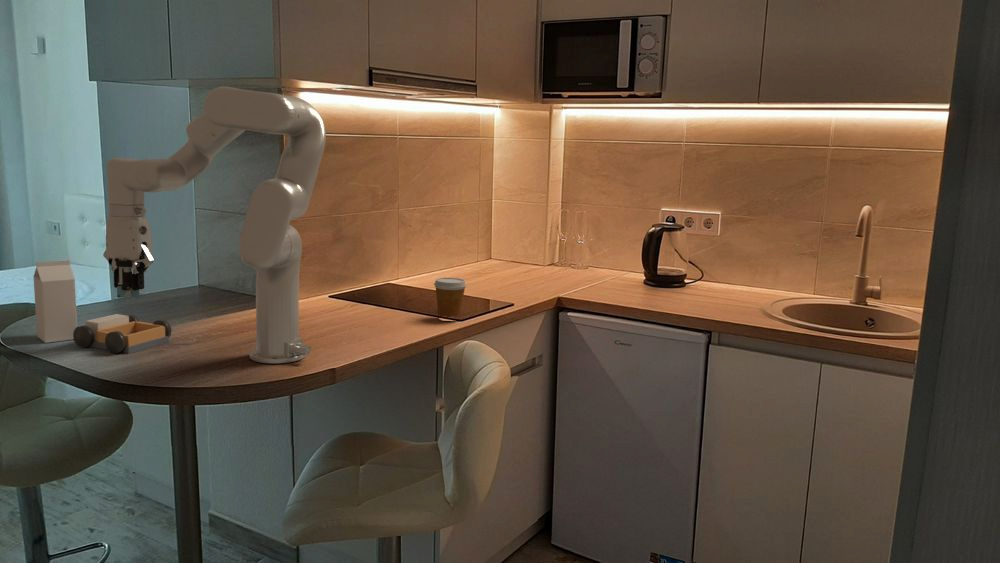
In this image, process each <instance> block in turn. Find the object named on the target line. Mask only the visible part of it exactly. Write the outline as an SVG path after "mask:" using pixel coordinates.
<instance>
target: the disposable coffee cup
mask: <svg viewBox="0 0 1000 563" xmlns="http://www.w3.org/2000/svg"><path fill="white" fill-rule="evenodd" d="M433 285H434V287H435V298H436V306H437V316H438V315H440V316H447V317H451V316H458V315H460V316H461V313H462V306H463V300H464V296H465V289H466V287H467V283H466V280H465V279H463V278H458V277H439V278H436V279H435V282H434V284H433Z"/></svg>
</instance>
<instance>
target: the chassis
mask: <svg viewBox="0 0 1000 563" xmlns="http://www.w3.org/2000/svg"><path fill="white" fill-rule="evenodd" d="M84 322H85V323H84V324H85V325H80V326H77V327H76V328H75V330H74V332H73V338H74V339H73V340H74V342H75V344H76V346H77V347H79V348H86V347H89V348H90V347H92V348H97V349H101V350H108V351H109V352H110V353H112V354H118V353H122V354H123V353H124V354H134V353H135V352H140V351H144V350H147V349H149V348H153V347H156V346H160V345H163V344H168V343H169V341H170V340H169V338H170V337H171V335H172V326H171V324H170V323H169V322H168V321H167V320H166V319H159V320H156V321H154V322H152V323H150V322H143V321H140V319H139V318H138V317H137V316H136V315H134V314H127V315H126V314H125V315H123V314H120V313H115V314H112V315H111V314H110V315H107V316H101V317H98V318H93V319H89V320H85V321H84Z"/></svg>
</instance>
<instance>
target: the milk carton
mask: <svg viewBox="0 0 1000 563" xmlns="http://www.w3.org/2000/svg"><path fill="white" fill-rule="evenodd" d="M35 265H36V267H35V270H34V274H33V290H34V293H33V294H34V305H35V306H34V307H35V324H36V325H35V326H36V337H37V338H38V339H40V340H41V341H42V342H44V343H45V344H46V343H55V342H62V341H71V340H74V338H73V332H74V330H75V328H76V327H78V319H77V318H78V317H77V298H76V297H77V296H76V293H77V292H76V278H75V275H74V272H73V270H72V266H71V260H69V259H68V260H54V261H37V262H36V263H35Z"/></svg>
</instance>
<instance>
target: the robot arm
mask: <svg viewBox="0 0 1000 563" xmlns="http://www.w3.org/2000/svg"><path fill="white" fill-rule="evenodd" d="M245 131H247V132H248V131H249V132H257V133H263V134H271V135H281V136H282V135H284V136H285V135H286V136H287V137H288V140H287V142H286V145H285V148H284V149H283V151H282V154H281V156H280V160H279V165H278V168H277V170H276V174H275V176H274V178H269V179H266V180H264V181H263V182H261V183H259V184H258V186H256V188H255V189H254V191H253V192H252V193H251V196H250V199H249V202H248V207H247V209H246V213H245V217H244V221H243V225H242V228H241V231H240V236H239V241H238V253H239V255H240V258H241V260H242V262H243V263H244V264H245V265H246V266H248V267H249V268H251V269H254V270H256V280H255V321H256V322H255V324H256V326H255V331H256V332H255V334H256V335H255V337H256V338H255V340H256V341H255V342H256V343H255V345H256V347H255V348H252V349H251V350H250V351H249V359H250V360H251V361H254V362H257V363H262V364H287V363H288V364H289V363H293V362H296V361H300V360H302V359H303V358H305V357H307V356H309V355H310V353H311V350H312V346H311V344H310V345H309V344H304V343H303V337H299V336H300V335H299V324H300V322H299V321H300V320H299V317H300V316H299V314H300V312H299V308H300V306H299V305H300V304H299V303H300V301H299V298H300V297H299V291H300V290H299V289H300V269H301V260H302V253H303V242H302V237H301V235H300V233H299V232H298V230H297V229H296V228H295V227H293V225H291V224H290V221H292V220H297V219H299V218H300V217H302V216H303V215H305V213H306V212H307V211H308V208H309V206H310V203H311V198H312V195H313V190H314V187H315V184H316V181H317V177H318V172H319V168H320V165H321V162H322V158H323V154H324V151H325V148H326V140H327V136H326V135H327V132H326V126H325V123H324V119H323V118H322V116H321V115H320V113H319V112H318V111H317V110H316V109H315V107H314V106H313V105H312V104H310V103H309V102H307V101H306V100H304V99H302V98H300V97H297V96H292V95H286V94H281V93H274V92H267V91H266V92H264V91H256V90H250V89H242V88H238V87H231V86H218V87H215V88H213V89H211V91H209V92H208V94H206V97H205V98H204V101H203V112H202V113H201V114H199V115H198V116H197V117H195V118H194V119H193V120H192V121H191V122H188V124H187V126H186V135H187V137H188V139H187V141H186V143H185V144H184V145H183V146H182V147H181V148H180V149H178V150H177V151H176V152H175V153H173V154H172V155H171V156H170V157H168V158H147V159H138V158H131V157H130V158H129V157H113V158H110V159H109V160H108V161H107V162H106V163H107V164H106V170H107V172H106V173H107V174H106V175H107V176H106V177H107V200H108V203H107V206H108V216H107V220H106V230H105V250H104V252H103V254H102V256H103V258H105V260H107V263H108V264H109V265H110V269H111V271H112V272H113V287H114V288H116V289H117V285H118V283H119V267H118V266H116V261H115V259H118V258H119V257H120V256H124V259H125V260H128V261H132V262H131V265H132V268H131V269H132V274H131V286H132V290H134V291H135V290H145V273H147V269H148V268H149V267H150V266H151V265H152V264H153V263H154V261H155V259H154V258H153V244H152V234H151V229H150V224H149V221H148V217H147V218H146V217H145V215H146V213H147V209H146V208H145V193H150V194H151V193H162V192H169V191H170V192H171V191H177V190H180V189H182V188H183V187H185V186H187V185H188V184H189V183H190V182H192V181H193V180H195V179H196V178H197V177H198V176H199V175H201V174H202V173H203V172H204V171H205V170H206V169H207V168H208V167H209V165H210V164H211V163H212V161H213V160H214V157H215V156H216V154H218V153H219V152H220V151H221V150H223V148H225V147H226V146H227V145H229V144H230V143H231V142H232V141H234V140H235V139H237V138H238V137H239V136H240V135H242V134H243V133H244V132H245ZM138 262H139V265H138V266H137V263H138ZM123 271H124V269H123V268H122V285H123Z"/></svg>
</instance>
